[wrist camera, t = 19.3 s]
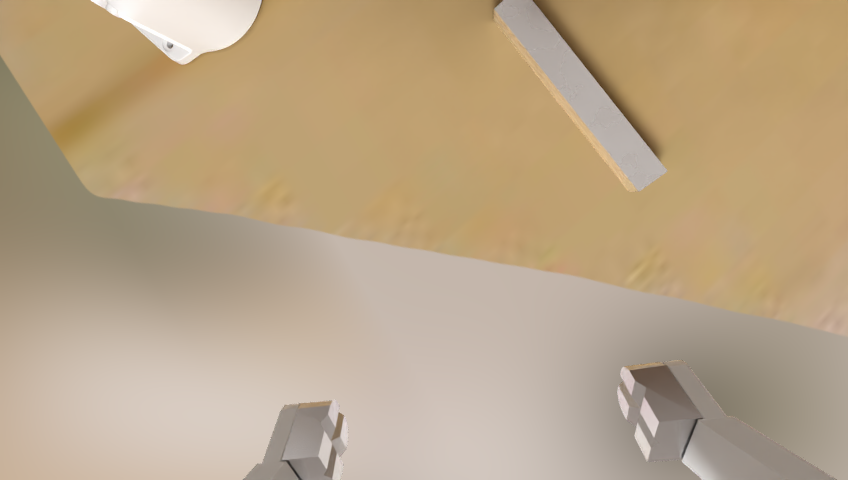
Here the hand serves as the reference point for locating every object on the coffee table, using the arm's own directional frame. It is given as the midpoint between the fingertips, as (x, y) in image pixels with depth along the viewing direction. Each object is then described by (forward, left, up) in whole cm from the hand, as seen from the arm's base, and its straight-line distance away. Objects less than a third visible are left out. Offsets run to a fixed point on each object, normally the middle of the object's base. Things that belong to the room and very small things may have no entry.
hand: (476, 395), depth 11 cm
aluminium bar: (0, +17, -31) cm, 35 cm away
